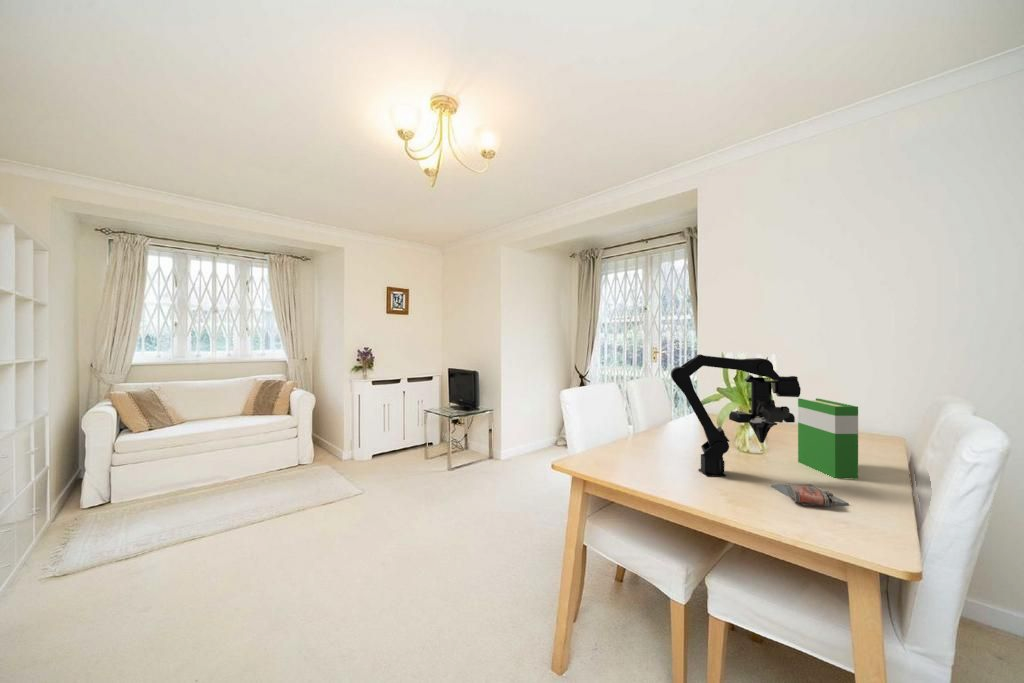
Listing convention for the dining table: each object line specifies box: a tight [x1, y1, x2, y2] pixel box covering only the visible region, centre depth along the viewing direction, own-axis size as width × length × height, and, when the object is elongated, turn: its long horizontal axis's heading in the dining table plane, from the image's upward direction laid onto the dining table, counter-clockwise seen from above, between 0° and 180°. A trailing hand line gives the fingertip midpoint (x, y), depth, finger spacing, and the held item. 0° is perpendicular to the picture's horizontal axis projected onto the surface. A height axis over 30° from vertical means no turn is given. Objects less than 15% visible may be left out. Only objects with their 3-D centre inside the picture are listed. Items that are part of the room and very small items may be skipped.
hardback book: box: [797, 397, 859, 479], centre depth 138 cm, size 18×7×24 cm, turn 178°
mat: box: [770, 483, 850, 506], centre depth 116 cm, size 12×14×1 cm
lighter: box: [787, 483, 838, 507], centre depth 110 cm, size 8×3×10 cm
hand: (761, 442), depth 130 cm, fingers closed
